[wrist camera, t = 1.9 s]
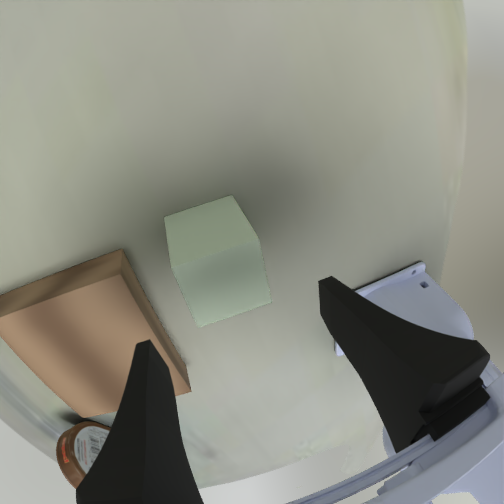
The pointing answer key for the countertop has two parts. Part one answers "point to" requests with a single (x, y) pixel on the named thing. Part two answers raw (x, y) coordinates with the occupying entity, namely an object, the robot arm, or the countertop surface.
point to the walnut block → (86, 332)
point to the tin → (80, 449)
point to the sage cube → (217, 261)
